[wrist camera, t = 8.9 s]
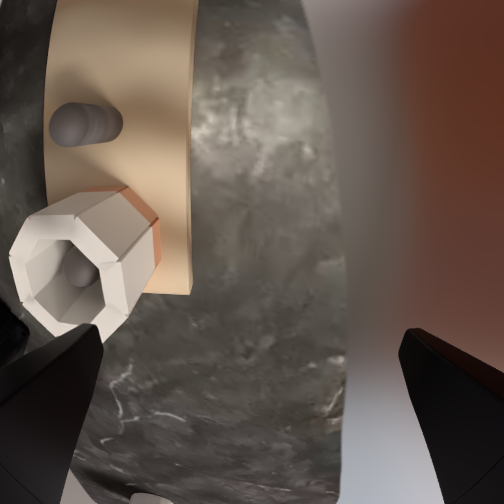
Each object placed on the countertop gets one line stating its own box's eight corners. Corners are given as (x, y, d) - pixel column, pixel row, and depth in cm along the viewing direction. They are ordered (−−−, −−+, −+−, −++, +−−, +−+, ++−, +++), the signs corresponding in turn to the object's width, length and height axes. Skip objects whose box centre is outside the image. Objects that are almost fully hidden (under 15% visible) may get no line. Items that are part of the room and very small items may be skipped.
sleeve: (163, 286, 18) (135, 349, 12) (77, 280, 18) (31, 333, 12) (158, 185, 16) (116, 214, 10) (65, 188, 15) (1, 216, 10)
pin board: (192, 283, 20) (174, 347, 14) (71, 277, 19) (24, 327, 13) (201, -28, 12) (185, -86, 6) (70, -4, 12) (17, -35, 6)
